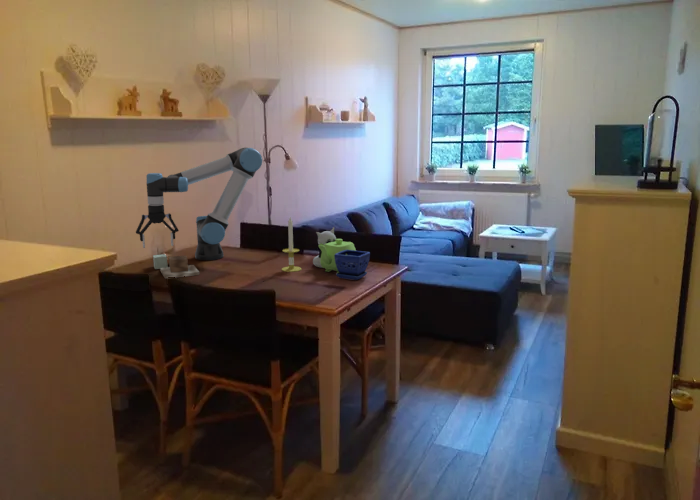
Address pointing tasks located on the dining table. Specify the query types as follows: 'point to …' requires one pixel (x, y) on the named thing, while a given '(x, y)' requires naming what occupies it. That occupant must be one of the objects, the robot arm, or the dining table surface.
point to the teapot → (333, 253)
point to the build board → (191, 272)
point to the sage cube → (160, 261)
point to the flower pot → (352, 264)
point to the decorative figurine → (324, 239)
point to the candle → (291, 250)
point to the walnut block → (178, 263)
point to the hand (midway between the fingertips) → (158, 246)
